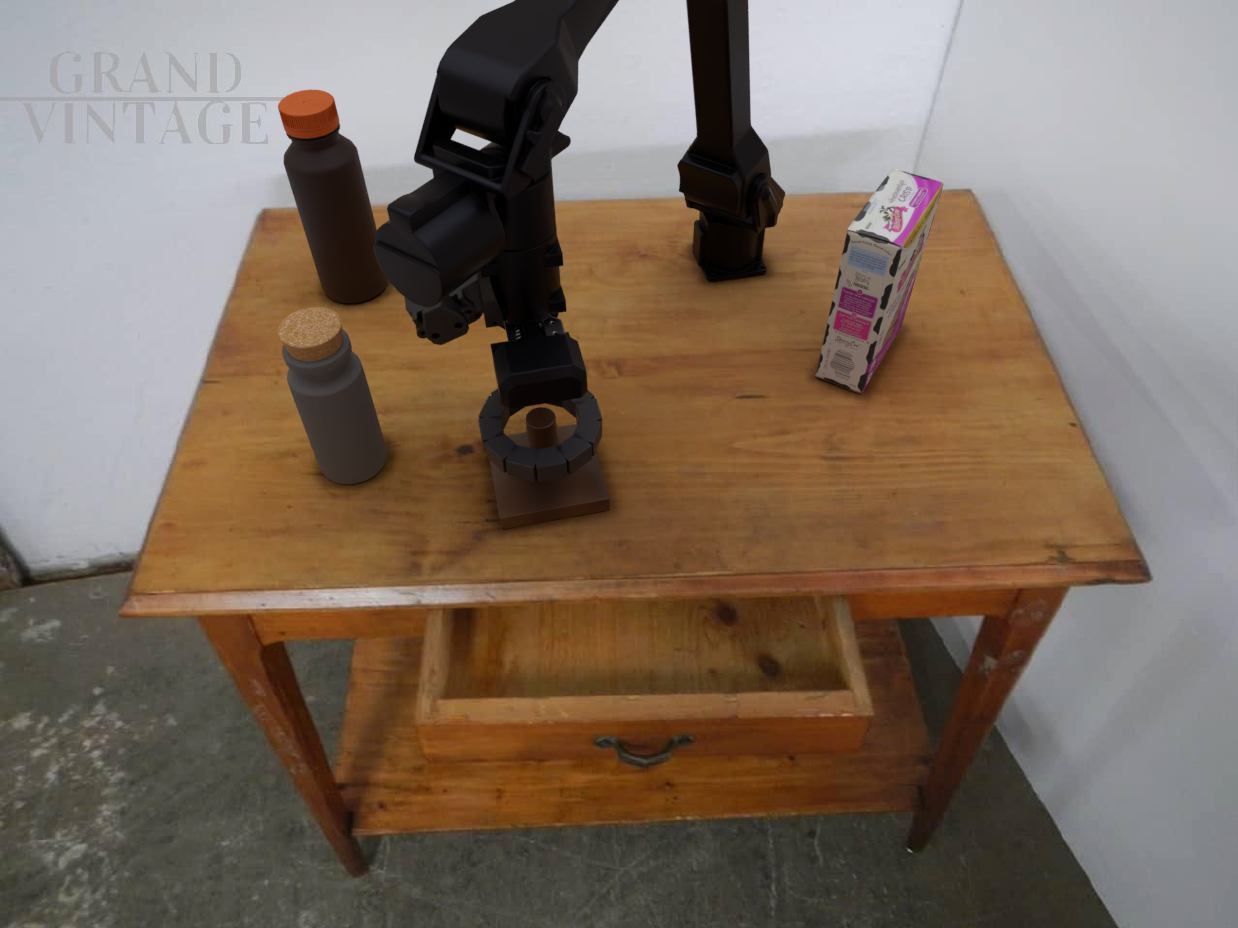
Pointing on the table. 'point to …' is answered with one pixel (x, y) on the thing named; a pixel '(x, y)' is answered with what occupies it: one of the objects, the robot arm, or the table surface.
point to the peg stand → (548, 497)
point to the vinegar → (331, 197)
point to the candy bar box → (877, 277)
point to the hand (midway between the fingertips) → (533, 389)
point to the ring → (544, 460)
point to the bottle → (332, 396)
